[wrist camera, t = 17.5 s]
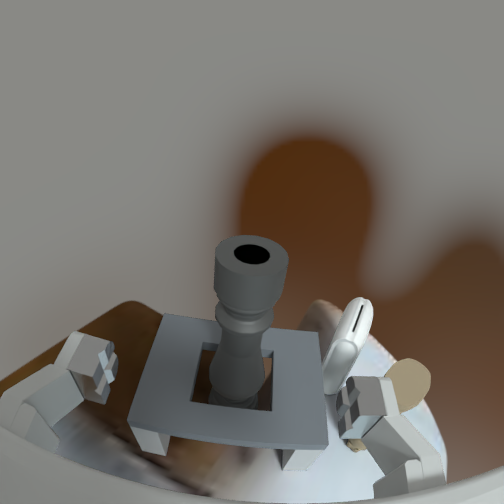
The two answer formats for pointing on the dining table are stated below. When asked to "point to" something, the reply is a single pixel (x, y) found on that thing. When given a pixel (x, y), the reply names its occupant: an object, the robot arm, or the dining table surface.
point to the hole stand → (227, 418)
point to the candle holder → (244, 316)
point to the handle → (403, 389)
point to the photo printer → (346, 344)
